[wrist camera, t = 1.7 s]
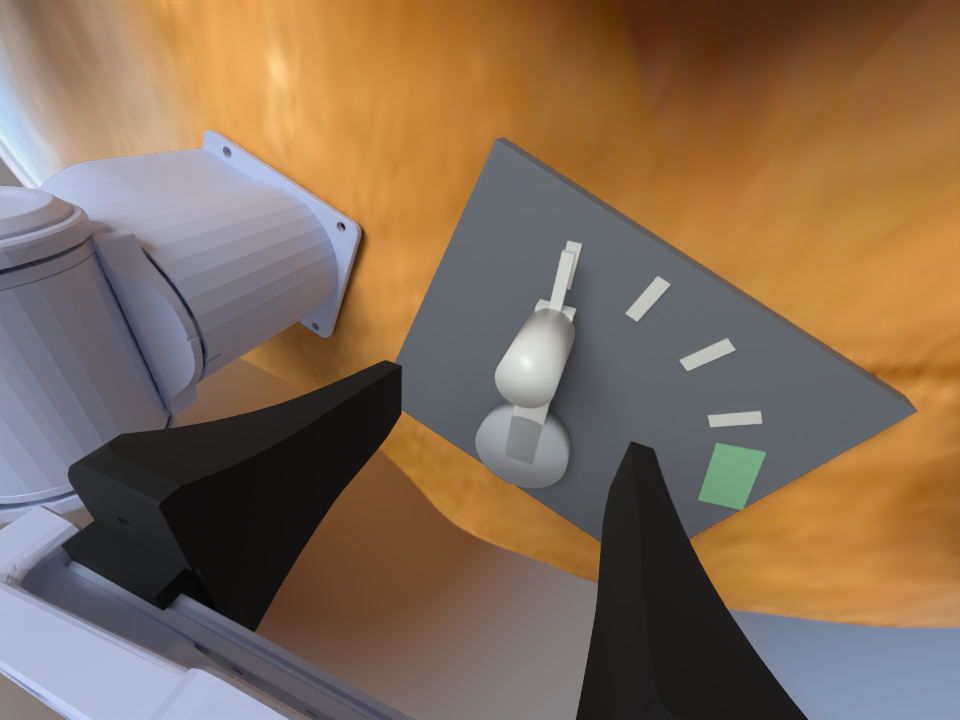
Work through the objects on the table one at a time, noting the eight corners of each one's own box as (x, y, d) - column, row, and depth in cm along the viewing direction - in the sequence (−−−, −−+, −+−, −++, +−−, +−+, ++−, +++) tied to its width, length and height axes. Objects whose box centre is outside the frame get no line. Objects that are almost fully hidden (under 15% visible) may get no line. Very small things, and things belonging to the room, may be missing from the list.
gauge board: (388, 386, 27) (379, 396, 26) (504, 137, 17) (495, 139, 16) (639, 552, 26) (638, 568, 25) (905, 396, 16) (919, 412, 16)
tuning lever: (559, 484, 24) (537, 565, 20) (478, 454, 25) (441, 525, 21) (637, 258, 16) (628, 314, 12) (514, 230, 17) (468, 272, 13)
